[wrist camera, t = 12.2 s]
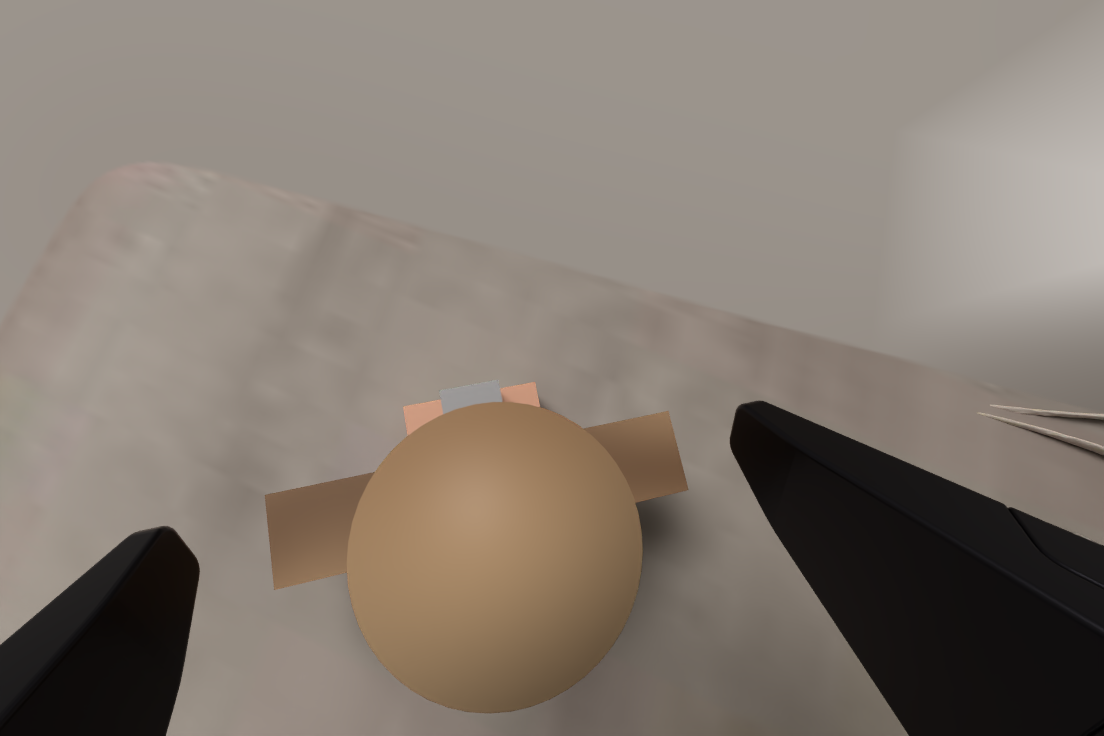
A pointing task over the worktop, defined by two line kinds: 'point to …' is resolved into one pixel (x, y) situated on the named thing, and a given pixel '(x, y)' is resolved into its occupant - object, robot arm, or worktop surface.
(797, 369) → the worktop surface
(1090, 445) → the pair of ivory hairpins
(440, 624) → the wooden stamp
